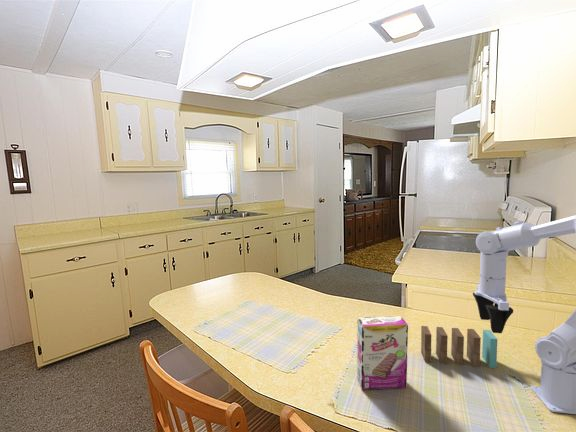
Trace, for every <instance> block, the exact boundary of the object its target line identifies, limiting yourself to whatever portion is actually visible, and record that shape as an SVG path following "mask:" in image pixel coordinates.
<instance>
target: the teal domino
mask: <svg viewBox="0 0 576 432" xmlns="http://www.w3.org/2000/svg"><path fill="white" fill-rule="evenodd" d="M481 354H482V355H481V357H482V360H484V362H485V363H486V365H487V366H488V368H490V369H491V368H492V369H496V368H497V357H498V338H497V337H496V336H495V335H494V333H493V332H492V330H491V329H490V330H489V329H482V349H481Z"/></svg>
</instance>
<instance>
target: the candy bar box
mask: <svg viewBox="0 0 576 432" xmlns="http://www.w3.org/2000/svg"><path fill="white" fill-rule="evenodd" d="M356 323H357V331H356V332H357V333H356V334H357V336H356V337H357V339H356V340H357V348H356V349H357V353H356V354H357V357H356V359H357V360H356V361H357V365H356V371H357V372H356V375H357V376H356V377H357V381H358V383H359V385H360V388H361V390H362V391H365V390H366V391H367V390H386V389H387V390H388V389H405V388H407V379H408V375H407V374H408V348H409V347H408V344H409V343H408V342H409V341H408V339H409V336H408V335H409V323H407V322H406V320H404V318H403V317H402V316H400V315H399V316H398V315H397V316H378V317H377V316H372V317H371V316H370V317H367V316H365V317H364V316H363V317H357V322H356Z"/></svg>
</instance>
